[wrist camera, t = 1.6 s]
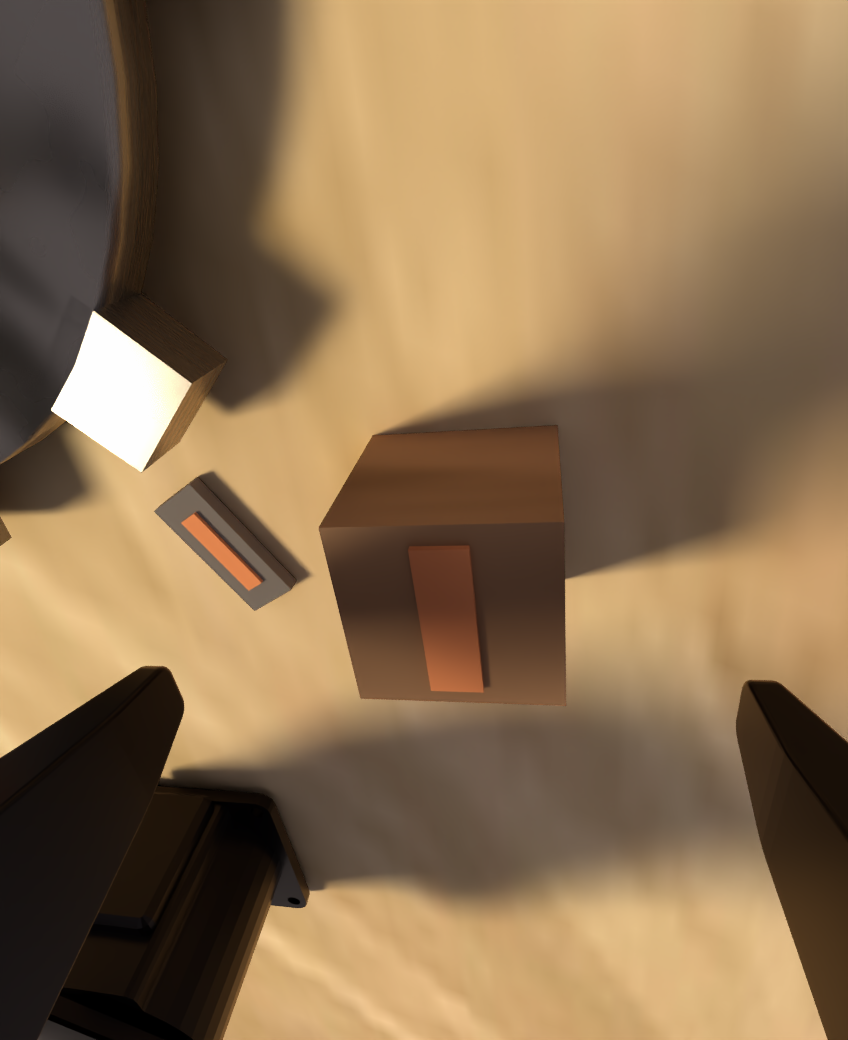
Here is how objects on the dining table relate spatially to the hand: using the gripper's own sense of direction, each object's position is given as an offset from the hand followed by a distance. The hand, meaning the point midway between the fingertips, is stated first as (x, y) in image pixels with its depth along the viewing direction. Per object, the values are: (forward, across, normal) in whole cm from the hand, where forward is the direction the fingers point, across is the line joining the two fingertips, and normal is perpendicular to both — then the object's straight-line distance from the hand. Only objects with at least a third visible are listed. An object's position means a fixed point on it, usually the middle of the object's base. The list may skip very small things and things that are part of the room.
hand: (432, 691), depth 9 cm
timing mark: (+5, +6, +1) cm, 8 cm away
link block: (+6, 0, 0) cm, 6 cm away
